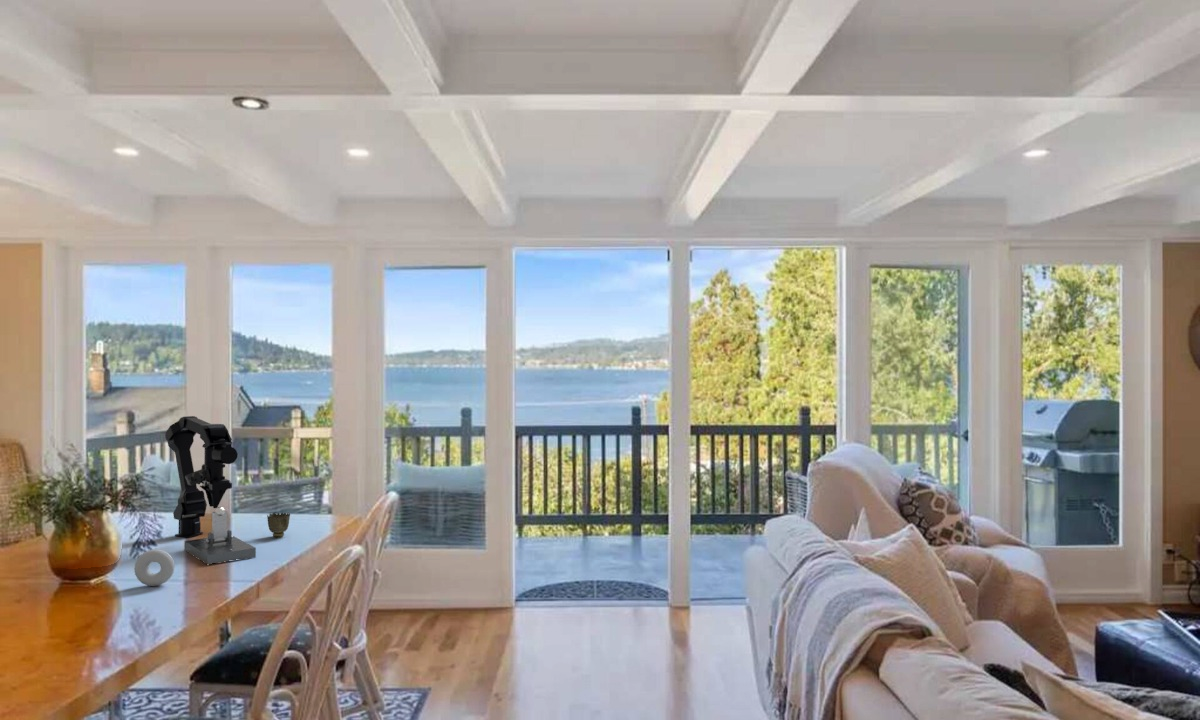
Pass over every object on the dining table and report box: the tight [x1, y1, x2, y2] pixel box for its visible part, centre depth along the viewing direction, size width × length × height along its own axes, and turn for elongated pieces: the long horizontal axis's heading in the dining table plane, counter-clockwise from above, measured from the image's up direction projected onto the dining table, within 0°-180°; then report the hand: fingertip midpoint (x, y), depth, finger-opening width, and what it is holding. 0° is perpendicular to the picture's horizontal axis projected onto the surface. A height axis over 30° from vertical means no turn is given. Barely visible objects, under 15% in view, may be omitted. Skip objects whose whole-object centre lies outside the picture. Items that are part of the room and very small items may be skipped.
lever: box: [211, 506, 228, 544], centre depth 240 cm, size 3×4×12 cm
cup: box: [266, 511, 291, 538], centre depth 263 cm, size 8×7×8 cm
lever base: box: [184, 529, 257, 564], centre depth 240 cm, size 24×14×7 cm, turn 44°
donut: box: [134, 548, 175, 587], centre depth 206 cm, size 10×4×10 cm, turn 100°
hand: (213, 507), depth 254 cm, fingers open, 4 cm apart
